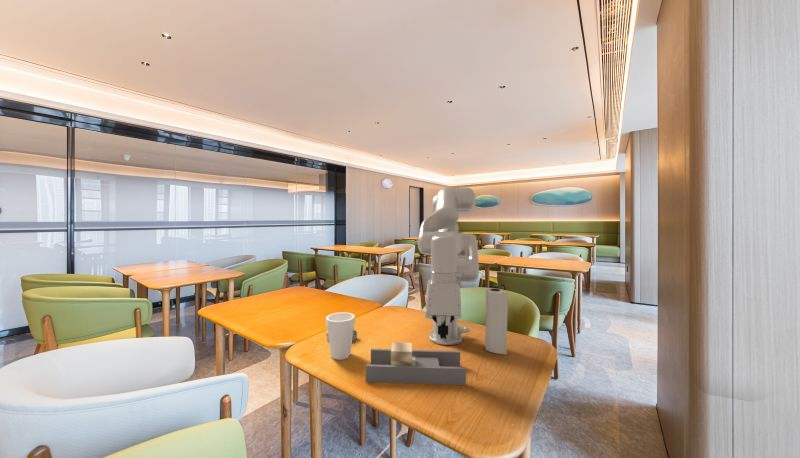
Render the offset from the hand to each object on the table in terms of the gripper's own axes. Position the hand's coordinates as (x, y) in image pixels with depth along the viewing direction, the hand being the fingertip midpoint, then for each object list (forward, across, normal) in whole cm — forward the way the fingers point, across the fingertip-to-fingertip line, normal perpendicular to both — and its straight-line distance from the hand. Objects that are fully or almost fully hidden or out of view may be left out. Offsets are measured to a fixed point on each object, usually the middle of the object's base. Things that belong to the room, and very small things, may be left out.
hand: (442, 336), depth 88 cm
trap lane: (+11, +8, +2) cm, 14 cm away
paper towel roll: (+12, -20, -15) cm, 27 cm away
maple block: (+8, +12, +2) cm, 15 cm away
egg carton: (+12, +36, -20) cm, 43 cm away
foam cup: (+11, +33, -8) cm, 36 cm away
